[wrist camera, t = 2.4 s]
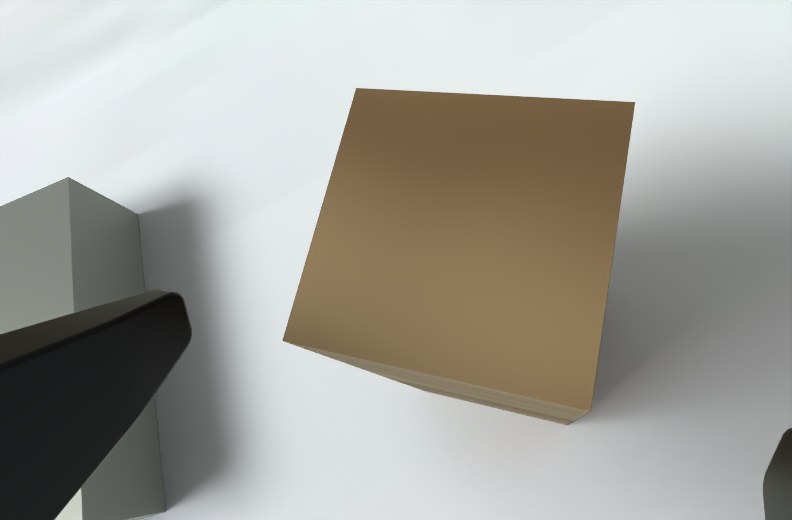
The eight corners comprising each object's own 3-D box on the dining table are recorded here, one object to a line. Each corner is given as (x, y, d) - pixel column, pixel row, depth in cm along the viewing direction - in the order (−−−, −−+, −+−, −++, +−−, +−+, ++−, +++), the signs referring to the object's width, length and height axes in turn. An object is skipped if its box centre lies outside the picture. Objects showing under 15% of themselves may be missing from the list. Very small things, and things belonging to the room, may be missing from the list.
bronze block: (567, 424, 16) (591, 411, 7) (423, 390, 17) (282, 340, 8) (589, 281, 17) (634, 102, 8) (452, 260, 18) (356, 88, 9)
